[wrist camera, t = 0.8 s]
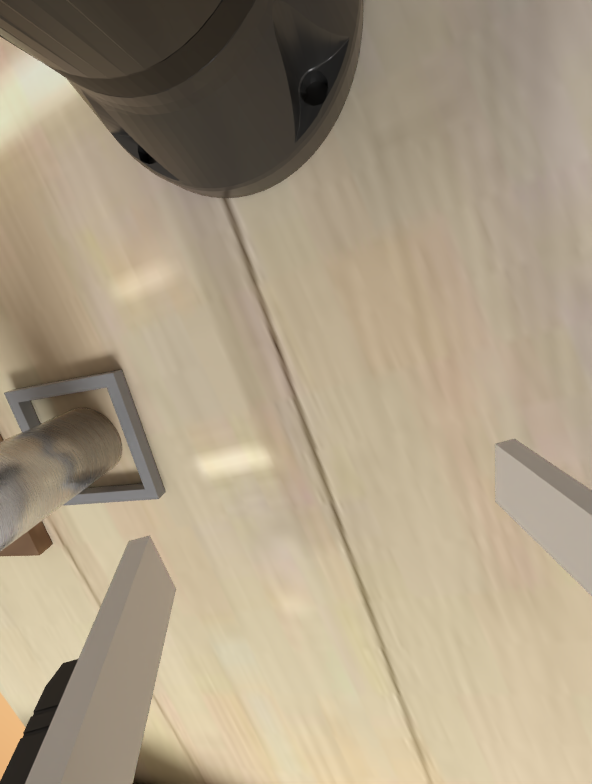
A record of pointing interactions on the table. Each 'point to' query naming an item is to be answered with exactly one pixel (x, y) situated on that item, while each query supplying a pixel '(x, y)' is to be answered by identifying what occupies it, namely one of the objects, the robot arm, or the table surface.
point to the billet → (52, 467)
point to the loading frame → (129, 424)
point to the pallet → (29, 541)
